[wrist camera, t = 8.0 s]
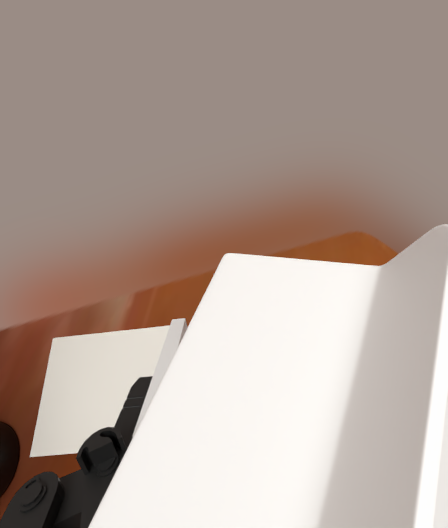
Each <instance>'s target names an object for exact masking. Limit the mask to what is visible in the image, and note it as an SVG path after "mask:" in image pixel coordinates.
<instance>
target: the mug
mask: <svg viewBox="0 0 448 528" xmlns="http://www.w3.org/2000/svg"><path fill="white" fill-rule="evenodd" d="M18 457H19V445H18V440H17V436H16V434H15V432H14V431H13V430H12V428H11V427H9V426H8V425H6V424H4V423H2V422H0V496H1V495H2V494H3V492H4V491H5V490H6V488H7V487H8V485H9V483H10V481H11V480H12V478H13V475H14V473H15V470H16V467H17V463H18Z"/></svg>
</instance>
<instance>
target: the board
mask: <svg viewBox="0 0 448 528" xmlns="http://www.w3.org/2000/svg"><path fill="white" fill-rule="evenodd" d="M169 327H170V326H162V327H152V328H143V329H134V330H124V331H115V332H106V333H97V334H87V335H78V336H69V337H59V338H53V341H52V346H51V351H50V356H49V362H48V367H47V372H46V377H45V382H44V387H43V392H42V397H41V402H40V407H39V413H38V418H37V423H36V428H35V433H34V438H33V443H32V448H31V453H30V457H36V456H48V455H61V454H73V453H78V451H79V449H80V447H81V446H82V444H83V443H84V441H85V440H86V439H87V438H89V437H90V436H91V435H92V434H93V433H95V432H96V431H98V430H100V429H103V428H106V427H114V426H115V424H116V421H117V419H118V417H119V414H120V412H121V410H122V409H123V405H124V403H125V400H127V396H128V393H129V391H130V389H131V387H132V385H133V384H134V383H135V382H136V381H137V380H138V378H139V377H149V376H153V374H154V371H155V368H156V365H157V362H158V360H159V357H160V354H161V351H162V348H163V345H164V342H165V339H166V336H167V333H168V330H169Z"/></svg>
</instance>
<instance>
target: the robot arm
mask: <svg viewBox="0 0 448 528" xmlns="http://www.w3.org/2000/svg"><path fill="white" fill-rule="evenodd" d="M186 330H187V324H186V319H185V318H183V319H173V320H172V322H171V325H170V327H169V330H168V333H167V336H166V339H165V342H164V345H163V348H162V351H161V354H160V357H159V360H158V362H157V365H156V368H155V371H154V374H153V376H149V377H139V378H138V380H137V381H136V382H135V383H134V384H133V385H132V387H131V389H130V391H129V393H128V396H127V400H125V403H124V405H123V409H122V410H121V412H120V414H119V417H118V419H117V421H116V424H115V426H114V427H106V428H103V429H100V430H98V431H96V432H95V433H93V434H92V435H91V436H90V437H89V438H87V439H86V440H85V441H84V443H83V444H82V446H81V447H80V449H79V451H78V454H77V457H76V459H77V461H78V463H79V465H80V467H81V469H80V470H78V471H76V472H73V473H71V474H69V475H66V476H64V477H62V478H58V476H57V475H56V474H55V473H53V472H43V473H41V474H39V475H36V476H34V477H33V478H32V479H30V480H29V481H28V482H26V483H25V484H24V485H23V486H22V487H21V488H20V489H19V490H18V491H17V492H16V494H15V495H14V497H13V498H12V500H11V501H10V503H9V505H8V507H7V509H6V511H5V513H4V515H3V517H2V519H1V520H0V528H88V527H89V525H90V523H91V521H92V519H93V517H94V515H95V513H96V511H97V509H98V507H99V505H100V503H101V501H102V499H103V497H104V495H105V493H106V491H107V489H108V487H109V485H110V483H111V481H112V479H113V477H114V475H115V473H116V471H117V469H118V467H119V465H120V463H121V461H122V459H123V457H124V455H125V453H126V451H127V449H128V446H129V444H130V442H131V440H132V438H133V436H134V434H135V432H136V430H137V428H138V426H139V424H140V422H141V420H142V418H143V416H144V414H145V412H146V410H147V408H148V406H149V404H150V402H151V400H152V398H153V396H154V394H155V392H156V390H157V388H158V386H159V384H160V382H161V380H162V378H163V376H164V374H165V372H166V370H167V368H168V366H169V364H170V362H171V360H172V358H173V356H174V354H175V352H176V350H177V348H178V346H179V344H180V342H181V340H182V338H183V336H184V334H185V332H186Z"/></svg>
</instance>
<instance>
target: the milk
mask: <svg viewBox="0 0 448 528" xmlns="http://www.w3.org/2000/svg"><path fill="white" fill-rule="evenodd" d="M88 528H448V225H446V224H444V225H440V226H437V227H435V228H433V229H431V230H430V231H429V232H427V233H426V234H424V235H423V236H422V237H420V238H419V239H418V240H416V241H415V242H414V243H413V244H411V245H410V246H409V247H407V248H406V249H405V250H404V251H402V252H401V253H400V254H398V255H397V256H396V257H394V258H393V259H392V260H390V261H389V262H388V263H386V264H384V265H382V266H370V265H359V264H348V263H337V262H326V261H314V260H303V259H292V258H281V257H269V256H258V255H247V254H234V253H227V254H225V255H224V256H223V258H222V260H221V262H220V264H219V266H218V268H217V270H216V272H215V274H214V276H213V278H212V280H211V282H210V284H209V286H208V288H207V290H206V292H205V294H204V296H203V298H202V300H201V302H200V304H199V306H198V308H197V310H196V312H195V314H194V316H193V318H192V320H191V322H190V324H189V326H188V328H187V330H186V332H185V334H184V336H183V338H182V340H181V342H180V344H179V346H178V348H177V350H176V352H175V354H174V356H173V358H172V360H171V362H170V364H169V366H168V368H167V370H166V372H165V374H164V376H163V378H162V380H161V382H160V384H159V386H158V388H157V390H156V392H155V394H154V396H153V398H152V400H151V402H150V404H149V406H148V408H147V410H146V412H145V414H144V416H143V418H142V420H141V422H140V424H139V426H138V428H137V430H136V432H135V434H134V436H133V438H132V440H131V442H130V444H129V446H128V449H127V451H126V453H125V455H124V457H123V459H122V461H121V463H120V465H119V467H118V469H117V471H116V473H115V475H114V477H113V479H112V481H111V483H110V485H109V487H108V489H107V491H106V493H105V495H104V497H103V499H102V501H101V503H100V505H99V507H98V509H97V511H96V513H95V515H94V517H93V519H92V521H91V523H90V525H89V527H88Z"/></svg>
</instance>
